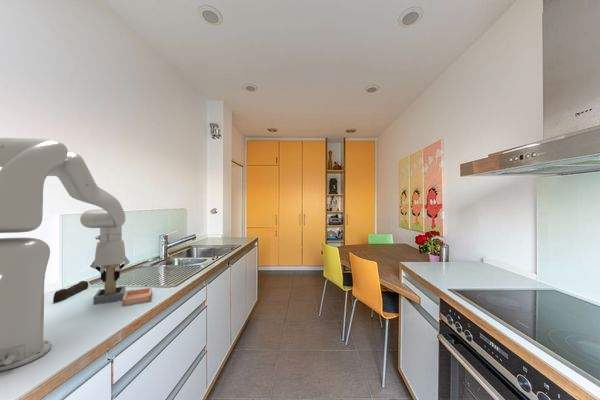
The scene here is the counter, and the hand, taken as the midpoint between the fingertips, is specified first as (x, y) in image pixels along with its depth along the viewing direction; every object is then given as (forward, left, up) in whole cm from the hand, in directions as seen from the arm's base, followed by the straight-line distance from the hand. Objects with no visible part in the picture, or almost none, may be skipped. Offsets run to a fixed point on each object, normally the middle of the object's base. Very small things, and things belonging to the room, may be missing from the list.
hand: (110, 280), depth 106 cm
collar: (0, 0, -8) cm, 8 cm away
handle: (0, 0, -8) cm, 8 cm away
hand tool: (+13, +16, -8) cm, 22 cm away
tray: (-7, -11, -8) cm, 15 cm away
